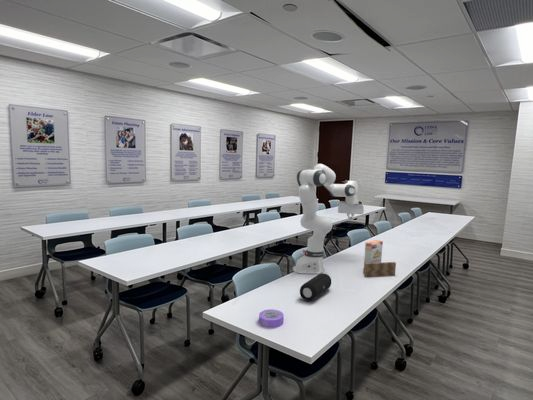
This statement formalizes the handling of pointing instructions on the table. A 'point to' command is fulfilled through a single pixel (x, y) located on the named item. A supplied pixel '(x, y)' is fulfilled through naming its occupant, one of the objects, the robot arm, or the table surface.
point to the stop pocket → (379, 269)
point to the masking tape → (271, 318)
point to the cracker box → (373, 252)
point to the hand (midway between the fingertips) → (350, 219)
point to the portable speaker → (315, 287)
